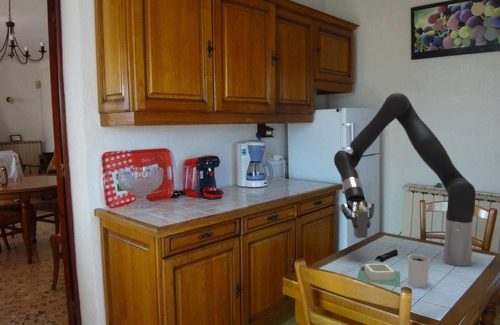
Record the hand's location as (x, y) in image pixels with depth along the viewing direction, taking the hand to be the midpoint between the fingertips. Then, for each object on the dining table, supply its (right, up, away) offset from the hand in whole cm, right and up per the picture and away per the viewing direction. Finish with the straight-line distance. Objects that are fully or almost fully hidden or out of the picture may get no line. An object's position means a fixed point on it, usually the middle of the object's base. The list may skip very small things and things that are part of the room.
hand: (362, 227), depth 149 cm
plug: (0, -4, +2) cm, 5 cm away
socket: (+2, -15, -12) cm, 19 cm away
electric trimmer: (+12, -15, +8) cm, 21 cm away
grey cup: (+13, -17, -18) cm, 28 cm away
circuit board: (+2, -16, -12) cm, 20 cm away
